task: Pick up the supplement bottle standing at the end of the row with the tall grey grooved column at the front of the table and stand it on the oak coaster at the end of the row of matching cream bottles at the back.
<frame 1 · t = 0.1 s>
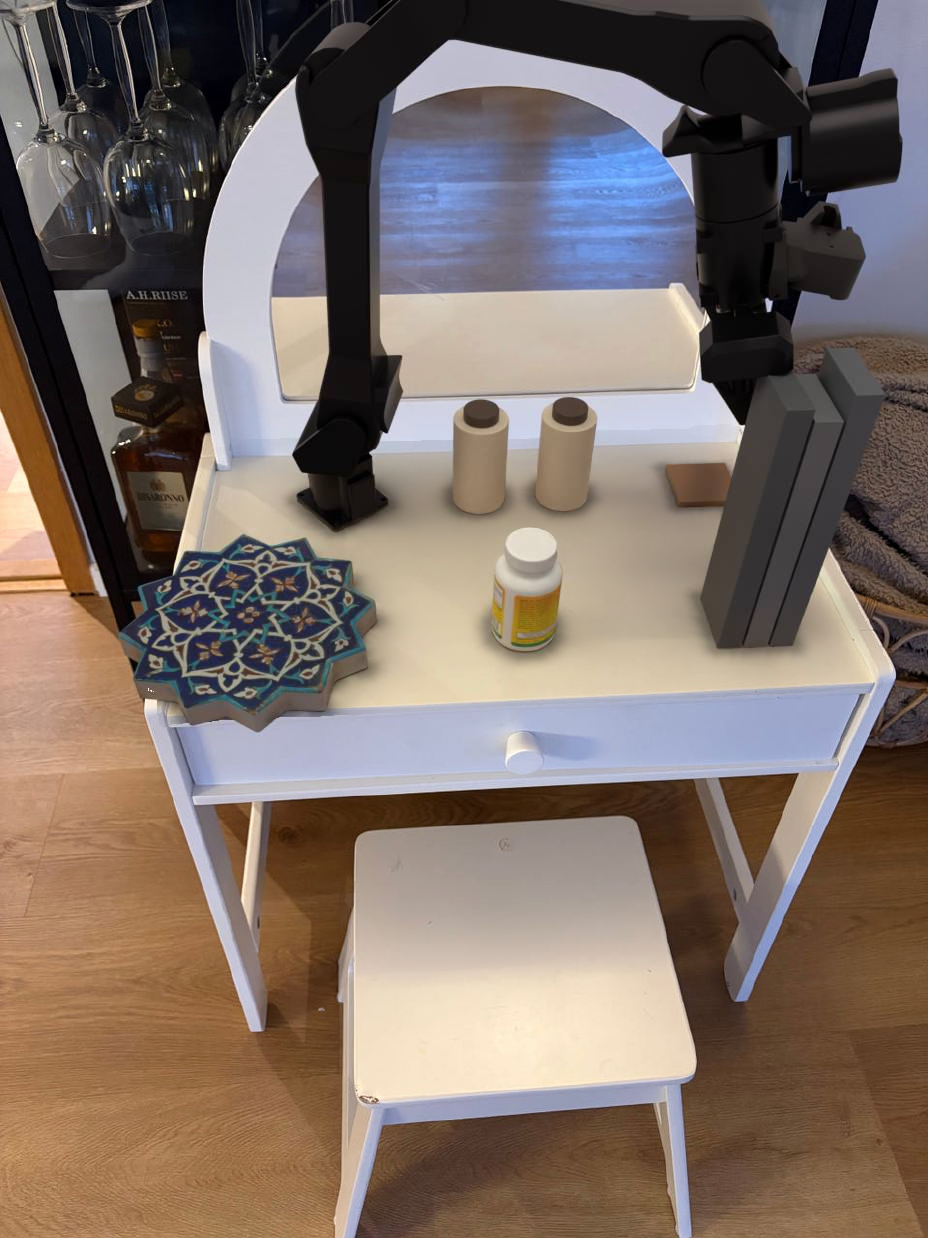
hand: (743, 396, 79), 15 cm above the table, tool pointing down, fingers open, 7 cm apart
oak coaster: (701, 486, 96), on the table
supplement bottle: (523, 632, 82), on the table
grey grooved column: (745, 621, 83), on the table
cream bottle 1: (561, 495, 95), on the table
decorative tile: (253, 637, 81), on the table
cream bottle 2: (478, 497, 94), on the table
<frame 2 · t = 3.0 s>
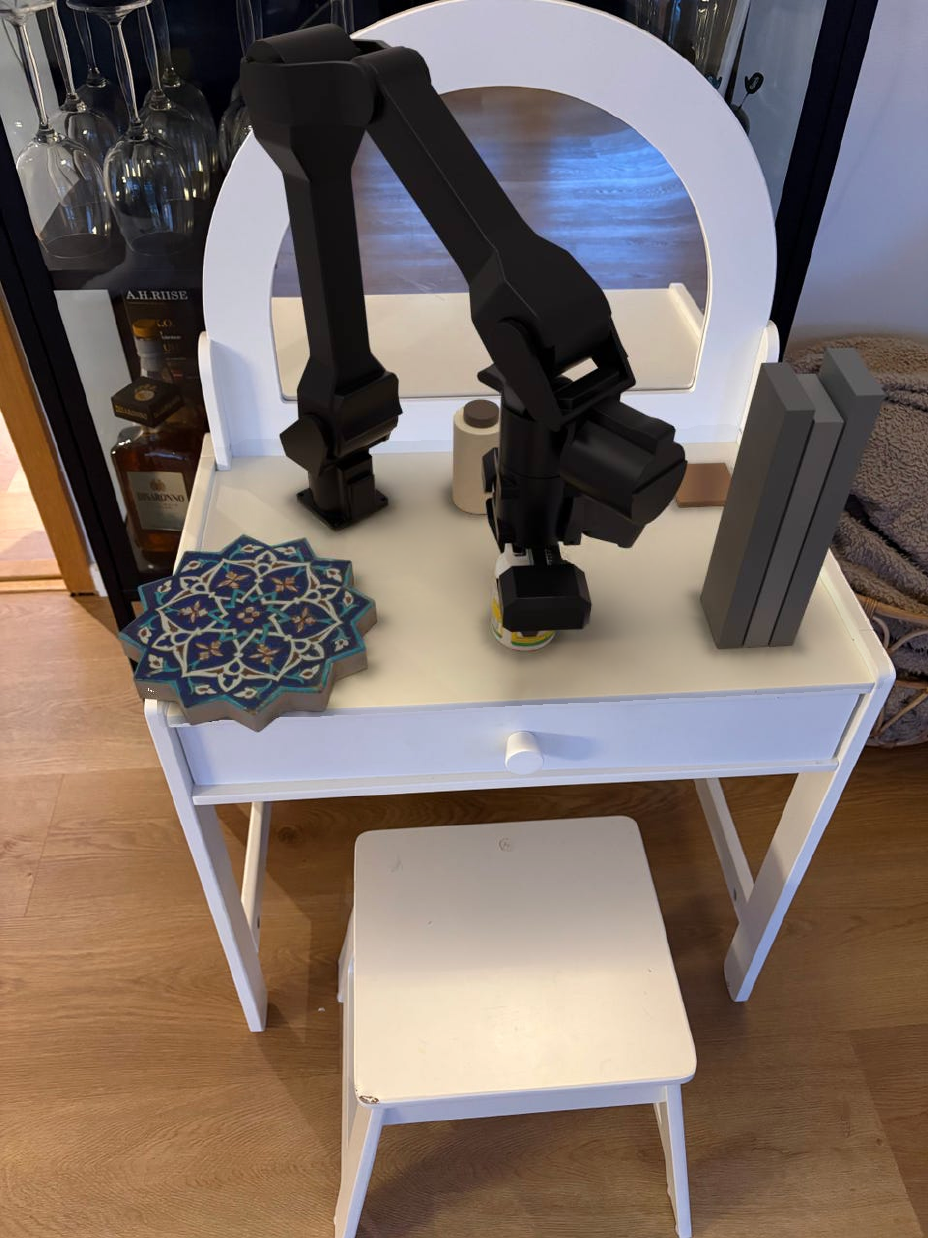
hand: (525, 611, 80), 2 cm above the table, tool pointing down, fingers closed on supplement bottle, 5 cm apart
supplement bottle: (523, 631, 82), on the table, touching gripper
everything else where it was.
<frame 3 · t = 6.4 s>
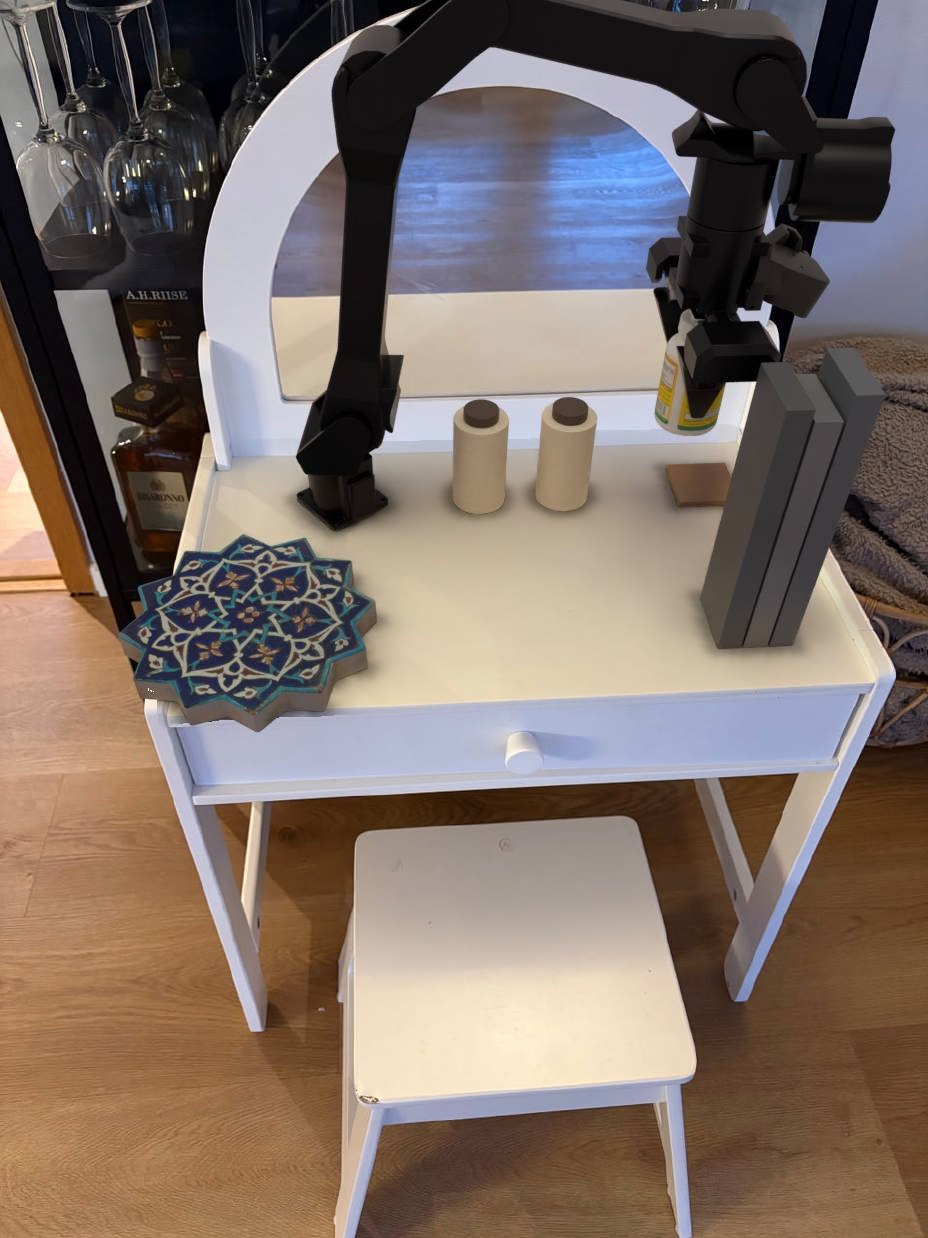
hand: (689, 398, 83), 13 cm above the table, tool pointing down, fingers closed on supplement bottle, 5 cm apart
supplement bottle: (684, 423, 85), point 11 cm above the table, touching gripper
everything else where it was.
when the fingers open (3 cm above the table, at t = 9.8 s): supplement bottle stays where it is, resting on oak coaster.
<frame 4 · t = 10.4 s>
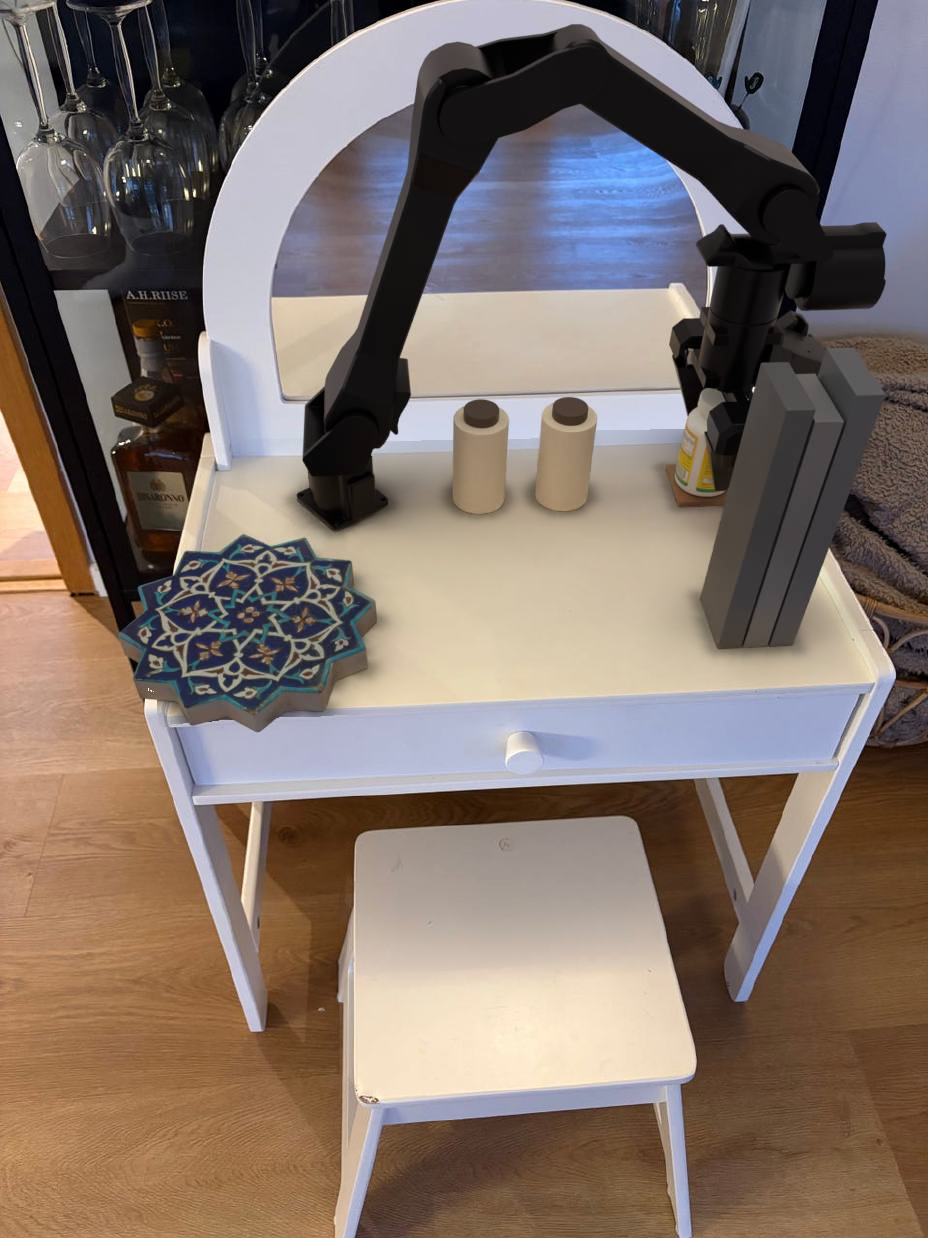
hand: (708, 460, 94), 3 cm above the table, tool pointing down, fingers open, 9 cm apart
supplement bottle: (701, 483, 96), resting on oak coaster
everything else where it was.
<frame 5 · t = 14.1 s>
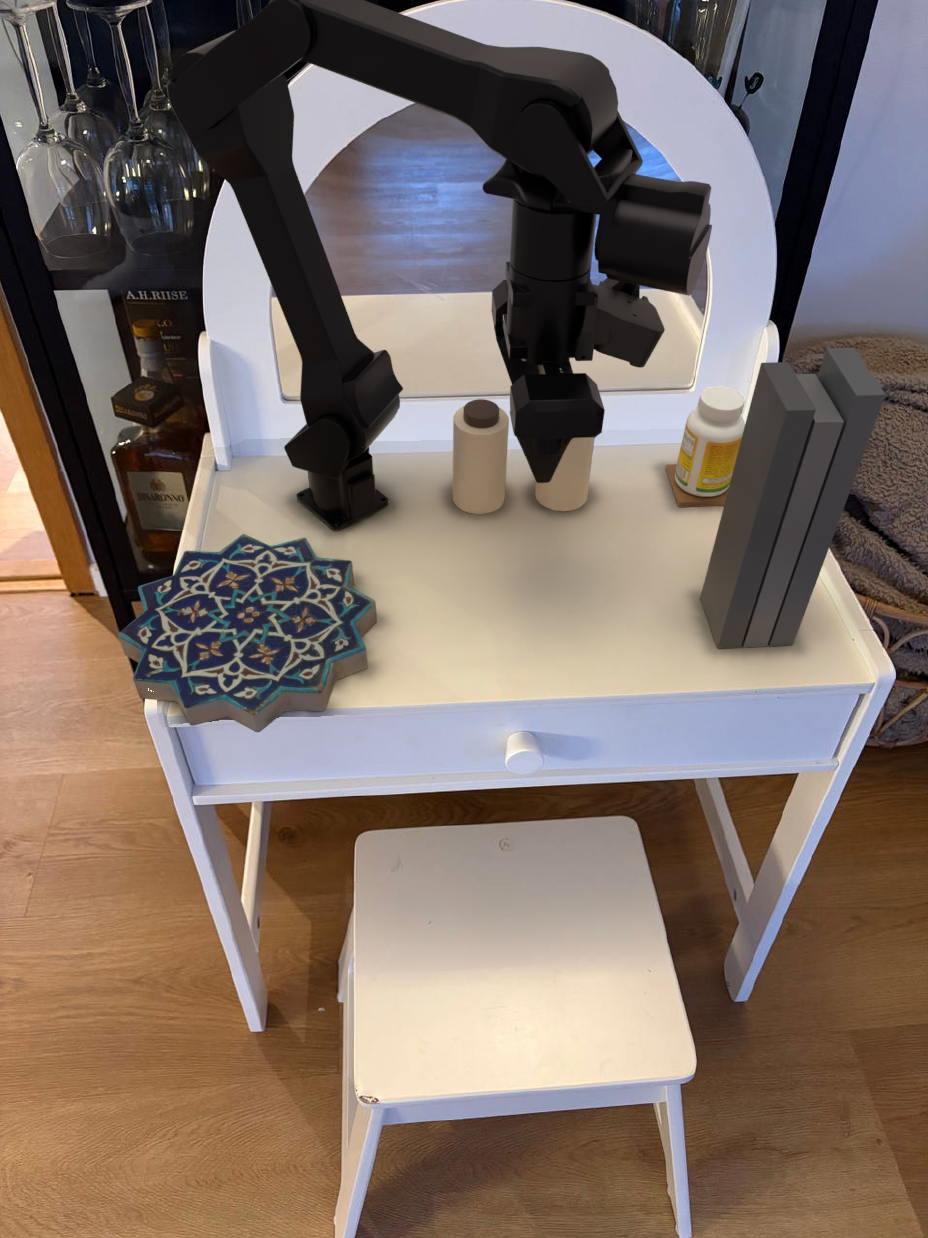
hand: (535, 447, 80), 12 cm above the table, tool pointing down, fingers open, 9 cm apart
nothing on the table moved.
at the end: supplement bottle 0.1 cm off-centre on the oak coaster, point 0.4 cm above the oak coaster's base; supplement bottle tilted 0°; supplement bottle touching oak coaster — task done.
